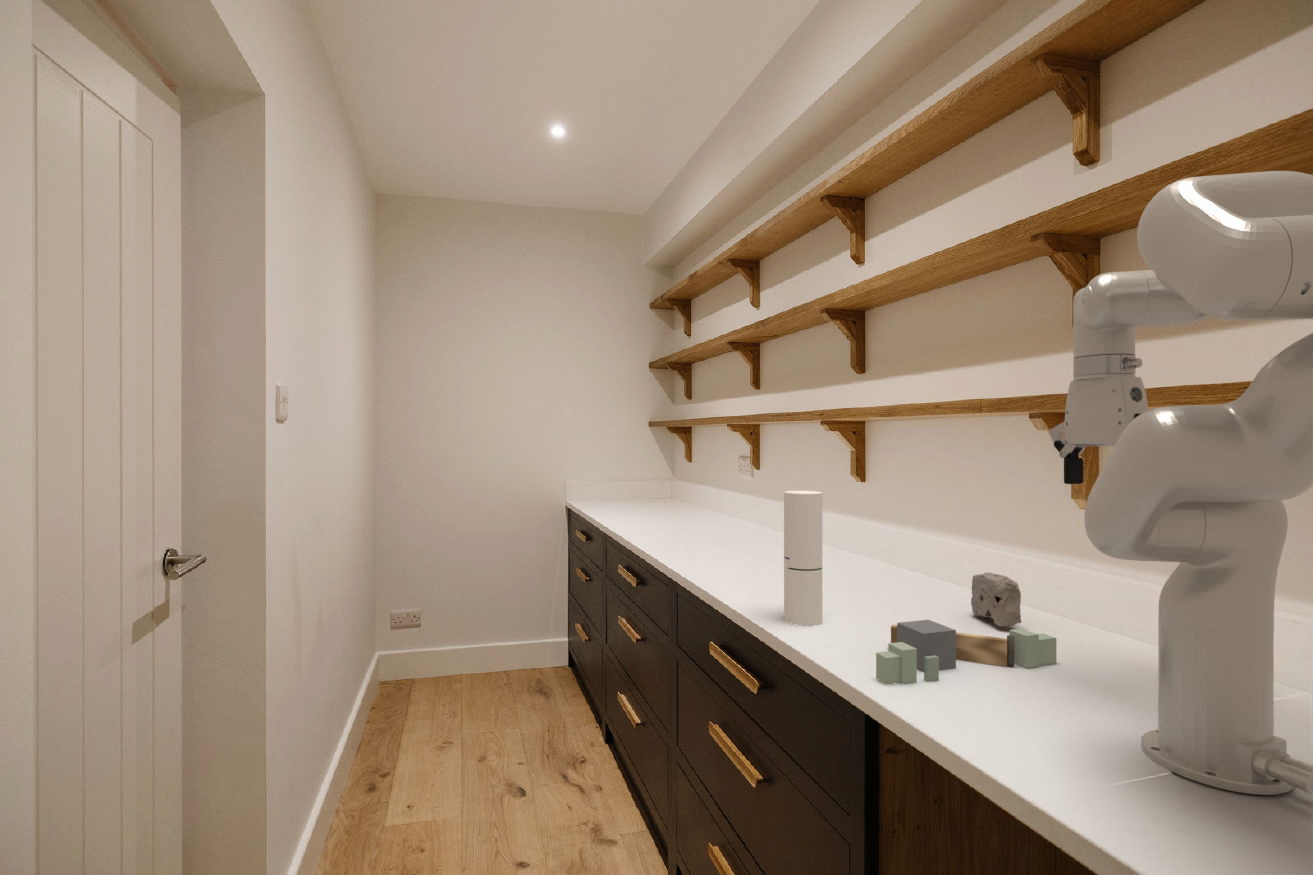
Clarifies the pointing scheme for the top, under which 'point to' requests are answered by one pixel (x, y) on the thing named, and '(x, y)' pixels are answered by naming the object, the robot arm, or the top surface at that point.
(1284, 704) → the top surface
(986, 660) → the brown wooden plank
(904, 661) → the grey-green stepped bar
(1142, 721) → the top surface
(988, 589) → the stone
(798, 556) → the cylindrical container
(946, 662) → the rectangular block
